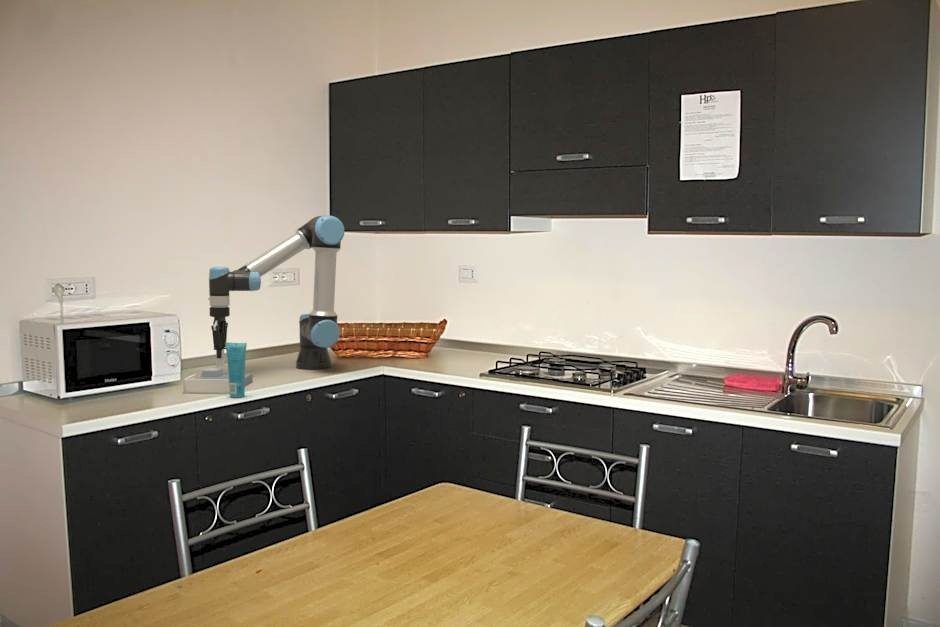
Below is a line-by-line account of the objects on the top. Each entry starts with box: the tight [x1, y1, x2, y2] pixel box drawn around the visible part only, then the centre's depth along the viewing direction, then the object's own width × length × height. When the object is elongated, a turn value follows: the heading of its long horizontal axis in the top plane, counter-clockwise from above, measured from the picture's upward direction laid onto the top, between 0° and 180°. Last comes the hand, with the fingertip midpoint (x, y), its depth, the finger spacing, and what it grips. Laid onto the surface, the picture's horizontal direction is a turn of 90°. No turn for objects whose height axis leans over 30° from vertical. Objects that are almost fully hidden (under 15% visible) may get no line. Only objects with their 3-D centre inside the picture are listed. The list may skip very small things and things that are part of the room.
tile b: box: [201, 367, 224, 377], centre depth 310 cm, size 6×6×2 cm
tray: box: [182, 373, 230, 395], centre depth 297 cm, size 18×11×5 cm, turn 89°
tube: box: [225, 342, 248, 398], centre depth 285 cm, size 7×5×19 cm, turn 96°
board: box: [196, 373, 253, 387], centre depth 308 cm, size 18×13×3 cm
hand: (220, 365), depth 320 cm, fingers closed
